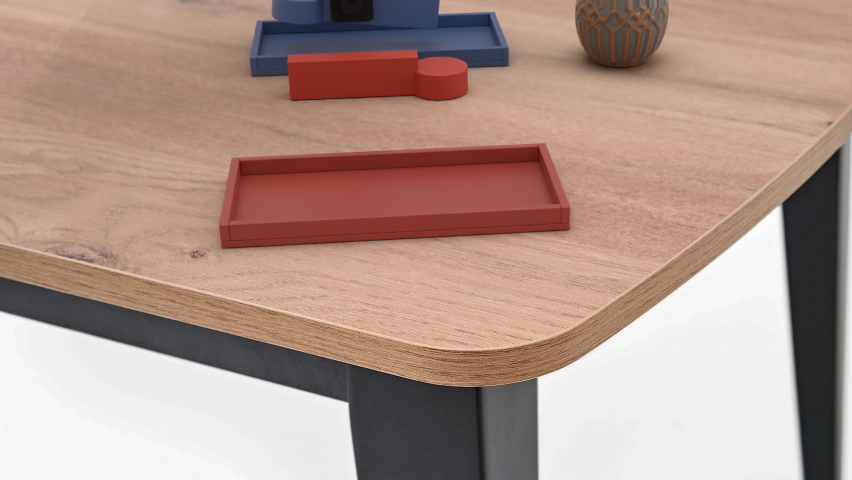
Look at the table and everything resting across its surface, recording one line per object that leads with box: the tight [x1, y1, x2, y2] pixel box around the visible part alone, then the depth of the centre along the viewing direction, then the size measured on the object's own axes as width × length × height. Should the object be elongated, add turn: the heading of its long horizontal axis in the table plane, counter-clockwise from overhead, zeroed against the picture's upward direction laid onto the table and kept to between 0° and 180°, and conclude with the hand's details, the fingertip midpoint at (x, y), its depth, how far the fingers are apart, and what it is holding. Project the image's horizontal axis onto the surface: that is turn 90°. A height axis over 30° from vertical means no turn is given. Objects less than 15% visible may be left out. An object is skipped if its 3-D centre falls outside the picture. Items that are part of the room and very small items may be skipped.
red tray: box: [218, 142, 571, 249], centre depth 70 cm, size 19×9×1 cm, turn 96°
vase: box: [574, 0, 670, 68], centre depth 90 cm, size 7×7×9 cm
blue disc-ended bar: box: [271, 0, 441, 30], centre depth 92 cm, size 12×4×3 cm, turn 96°
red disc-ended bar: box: [287, 50, 469, 101], centre depth 85 cm, size 12×4×3 cm, turn 96°
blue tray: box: [249, 11, 510, 77], centre depth 93 cm, size 19×9×1 cm, turn 96°
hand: (352, 14), depth 92 cm, fingers closed on blue disc-ended bar
